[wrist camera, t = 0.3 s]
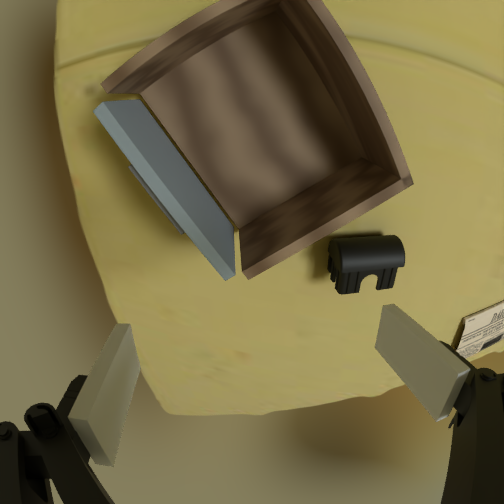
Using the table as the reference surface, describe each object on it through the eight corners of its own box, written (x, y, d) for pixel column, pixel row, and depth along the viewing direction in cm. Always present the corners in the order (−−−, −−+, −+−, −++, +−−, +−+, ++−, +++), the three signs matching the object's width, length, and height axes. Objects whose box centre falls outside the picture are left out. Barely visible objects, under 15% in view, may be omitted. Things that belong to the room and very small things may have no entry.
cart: (270, -3, 25) (288, -41, 15) (369, 165, 37) (416, 193, 27) (134, 79, 30) (93, 74, 19) (247, 236, 41) (254, 287, 31)
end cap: (388, 226, 42) (409, 247, 36) (380, 265, 45) (399, 289, 40) (327, 229, 42) (343, 252, 36) (324, 271, 45) (336, 298, 39)
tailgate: (139, 99, 29) (102, 101, 20) (233, 227, 38) (235, 274, 29) (126, 109, 30) (86, 117, 20) (220, 235, 39) (218, 284, 29)
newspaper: (443, 362, 64) (448, 369, 62) (464, 310, 54) (470, 317, 52) (521, 323, 63) (525, 328, 61) (541, 275, 54) (546, 280, 51)
